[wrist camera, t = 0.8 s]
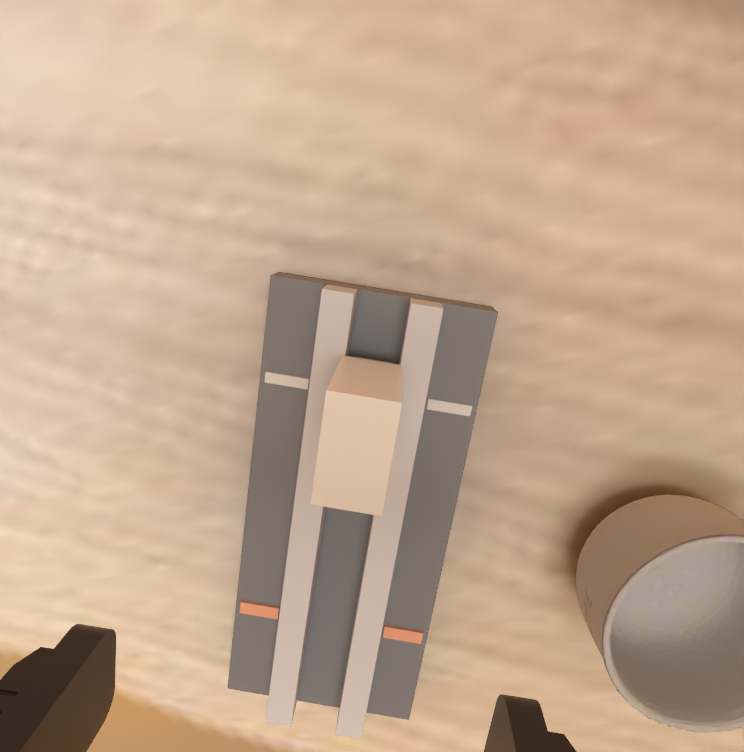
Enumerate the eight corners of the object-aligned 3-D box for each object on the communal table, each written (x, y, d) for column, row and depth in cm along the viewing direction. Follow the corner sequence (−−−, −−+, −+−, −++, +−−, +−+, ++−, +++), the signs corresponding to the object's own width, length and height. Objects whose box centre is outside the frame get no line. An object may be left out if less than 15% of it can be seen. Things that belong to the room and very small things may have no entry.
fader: (402, 355, 30) (402, 402, 22) (387, 441, 31) (381, 516, 23) (346, 345, 30) (326, 390, 22) (334, 432, 31) (310, 504, 23)
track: (492, 306, 31) (504, 318, 27) (408, 694, 38) (409, 747, 34) (279, 272, 31) (261, 279, 27) (236, 664, 38) (217, 714, 34)
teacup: (524, 554, 35) (557, 647, 27) (657, 433, 32) (736, 499, 25) (675, 680, 37) (747, 802, 29) (813, 576, 34) (932, 678, 27)
